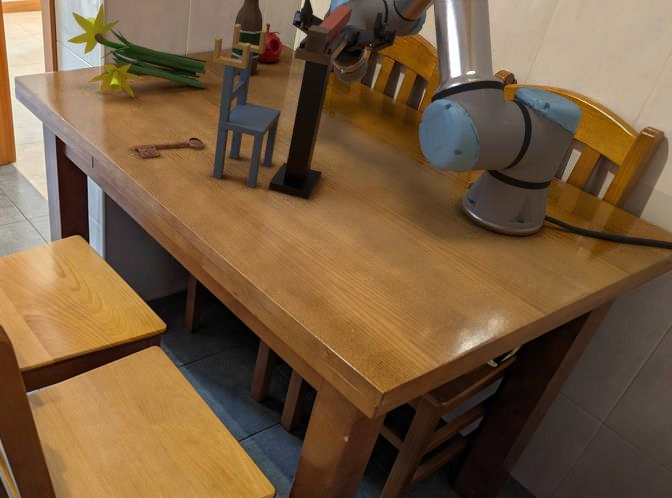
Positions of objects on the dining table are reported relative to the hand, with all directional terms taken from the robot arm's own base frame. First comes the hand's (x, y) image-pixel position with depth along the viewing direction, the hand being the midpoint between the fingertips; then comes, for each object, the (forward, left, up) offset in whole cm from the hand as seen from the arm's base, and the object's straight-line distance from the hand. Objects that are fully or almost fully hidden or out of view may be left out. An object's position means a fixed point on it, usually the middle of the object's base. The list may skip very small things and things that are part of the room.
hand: (341, 13), depth 118 cm
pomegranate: (+47, -44, -29) cm, 70 cm away
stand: (-4, +12, -28) cm, 31 cm away
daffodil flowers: (+50, +1, -29) cm, 57 cm away
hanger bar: (-3, +7, -2) cm, 8 cm away
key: (+22, +21, -29) cm, 41 cm away
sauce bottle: (+32, -54, -29) cm, 69 cm away
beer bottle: (+44, -31, -29) cm, 61 cm away
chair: (+7, +16, -28) cm, 33 cm away
